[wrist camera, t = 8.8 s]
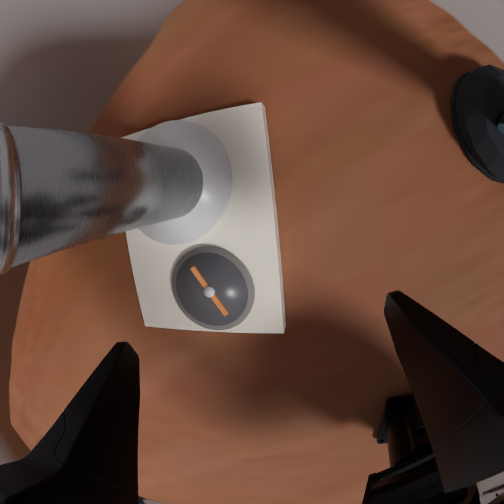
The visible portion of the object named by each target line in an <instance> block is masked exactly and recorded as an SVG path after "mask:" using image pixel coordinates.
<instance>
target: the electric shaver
mask: <svg viewBox="0 0 504 504" xmlns="http://www.w3.org/2000/svg"><path fill="white" fill-rule="evenodd" d="M450 104H451V111H452V120H453V130H454V131H455V133H456V135H457V137H458V139H459V140H460V142H461V144H462V146H463V148H464V150H465V152H466V154H467V156H468V158H469V160H470V162H471V164H472V165H473V166H475V167H476V168H477V169H478V170H480V171H481V172H482V173H483V174H485V175H486V176H487V177H488V178H489V179H491V180H493V181H496V182H500V183H504V70H502V69H500V68H497V67H494V66H491V65H487V66H483V67H479V68H477V69H476V70H474V71H473V72H468V73H466V74H464V75H462V76H461V77H460V79H459V80H458V81H457V82H456V83H455V85H454V89H453V93H452V97H451V100H450Z"/></svg>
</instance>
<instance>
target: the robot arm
mask: <svg viewBox="0 0 504 504" xmlns="http://www.w3.org/2000/svg"><path fill="white" fill-rule="evenodd" d="M384 315H385V318H386V321H387V324H388V327H389V330H390V334H391V337H392V340H393V343H394V346H395V350H396V353H397V355H398V358H399V360H400V362H401V365H402V367H403V370H404V372H405V374H406V377H407V379H408V382H409V384H410V387H411V389H412V392H413V395H408V396H400V397H392V398H389V399H388V400H387V401H386V405H385V410H384V414H383V418H382V421H381V425H380V429H379V433H378V436H377V443H379V444H383V443H388V451H389V459H390V468H388V469H386V470H383V471H381V472H378V473H373V474H370V475H369V477H368V482H367V485H366V490H365V494H364V498H363V503H362V504H504V362H503V361H501V360H499V359H498V358H496V357H495V356H493V355H492V354H490V353H489V352H487V351H486V350H485V349H483V348H482V347H480V346H479V345H478V344H476V343H474V342H473V341H472V340H471V339H469V338H468V337H466V336H465V335H464V334H462V333H461V332H459V331H458V330H457V329H455V328H454V327H452V326H451V325H450V324H448V323H447V322H445V321H444V320H442V319H441V318H439V317H438V316H437V315H435V314H434V313H432V312H431V311H429V310H428V309H426V308H425V307H423V306H422V305H420V304H419V303H417V302H416V301H414V300H413V299H411V298H410V297H408V296H407V295H405V294H404V293H402V292H401V291H398V290H397V291H393V292H390V293H388V294H387V296H386V302H385V307H384ZM392 402H393V403H392ZM139 405H140V375H139V357H138V354H137V353H136V352H135V350H134V349H133V348H132V347H131V345H130V344H129V343H128V342H117V343H116V344H115V345H114V346H113V348H112V349H111V350H110V351H109V353H108V354H107V355H106V356H105V358H104V359H103V360H102V361H101V363H100V364H99V365H98V366H97V368H96V369H95V370H94V372H93V373H92V374H91V375H90V377H89V378H88V379H87V381H86V382H85V383H84V384H83V386H82V387H81V388H80V390H79V391H78V392H77V394H76V395H75V396H74V398H73V399H72V400H71V402H70V403H69V404H68V406H67V407H66V408H65V410H64V412H62V414H61V415H60V416H59V418H58V419H57V421H56V422H55V423H54V424H53V426H52V427H51V428H50V430H49V431H48V432H47V433H46V434H45V436H44V437H43V438H42V439H41V440H40V441H39V443H38V444H37V445H36V446H35V447H34V448H33V450H32V451H31V452H30V453H29V454H28V455H27V456H26V457H24V458H23V459H21V460H18V461H14V462H10V463H6V464H2V465H0V504H139V498H138V424H139Z"/></svg>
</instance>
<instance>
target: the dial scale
mask: <svg viewBox="0 0 504 504" xmlns="http://www.w3.org/2000/svg"><path fill="white" fill-rule="evenodd" d="M122 138H124V139H130V140H136V141H142V142H147V143H152V144H157V145H163V146H167V147H172V148H177V149H181V150H184V151H186V152H188V153H189V154H191V155H192V156H193V157H194V158H195V159H196V160H197V162H198V164H199V166H200V168H201V171H202V175H203V190H202V194H201V197H200V199H199V201H198V203H197V205H196V206H195V207H194V209H193V210H192V211H190V212H189V213H188V214H186V215H185V216H183V217H180V218H176V219H172V220H168V221H164V222H160V223H156V224H152V225H149V226H145V227H141V228H137V229H133V230H130V231H126V237H127V243H128V249H129V255H130V260H131V265H132V271H133V276H134V280H135V285H136V290H137V294H138V299H139V303H140V307H141V311H142V315H143V319H144V323H145V326H148V327H158V328H169V329H181V330H195V331H212V332H234V333H284V331H285V328H286V318H285V304H284V291H283V278H282V266H281V254H280V242H279V231H278V221H277V210H276V200H275V190H274V181H273V171H272V162H271V153H270V145H269V136H268V128H267V120H266V112H265V106H264V105H263V104H262V103H261V102H260V103H254V104H248V105H242V106H237V107H231V108H226V109H222V110H217V111H212V112H208V113H203V114H199V115H195V116H191V117H187V118H183V119H180V120H171V121H167V122H163V123H160V124H158V125H156V126H154V127H152V128H149V129H145V130H142V131H139V132H136V133H133V134H130V135H127V136H125V137H122Z"/></svg>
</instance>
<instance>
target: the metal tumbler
mask: <svg viewBox="0 0 504 504" xmlns="http://www.w3.org/2000/svg"><path fill="white" fill-rule="evenodd" d="M202 190H203V175H202V171H201V168H200V166H199V164H198V162H197V160H196V159H195V158H194V157H193V156H192V155H191V154H189V153H188V152H186V151H184V150H181V149H177V148H172V147H167V146H163V145H157V144H152V143H147V142H142V141H136V140H130V139H124V138H118V137H112V136H105V135H98V134H91V133H83V132H75V131H66V130H57V129H46V128H33V127H15V126H6V125H5V124H3V123H0V274H3V273H5V272H7V271H8V270H9V269H10V268H11V267H13V266H16V265H19V264H22V263H25V262H28V261H31V260H34V259H37V258H40V257H43V256H46V255H49V254H52V253H55V252H58V251H61V250H65V249H68V248H71V247H74V246H78V245H81V244H84V243H88V242H91V241H94V240H98V239H101V238H105V237H108V236H112V235H115V234H119V233H123V232H126V231H130V230H133V229H137V228H141V227H145V226H149V225H152V224H156V223H160V222H164V221H168V220H172V219H176V218H180V217H183V216H185V215H186V214H188V213H189V212H190V211H192V210H193V209H194V207H195V206H196V205H197V203H198V201H199V199H200V197H201V194H202Z"/></svg>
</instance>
